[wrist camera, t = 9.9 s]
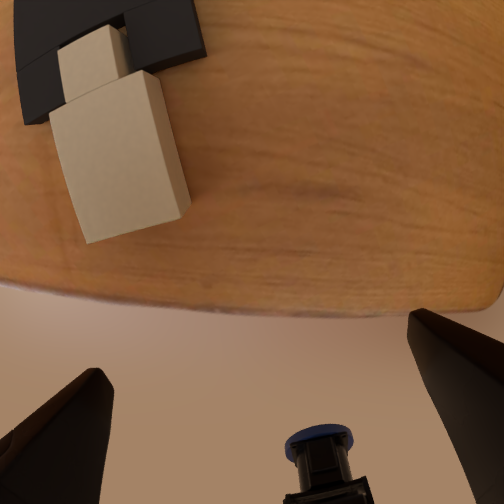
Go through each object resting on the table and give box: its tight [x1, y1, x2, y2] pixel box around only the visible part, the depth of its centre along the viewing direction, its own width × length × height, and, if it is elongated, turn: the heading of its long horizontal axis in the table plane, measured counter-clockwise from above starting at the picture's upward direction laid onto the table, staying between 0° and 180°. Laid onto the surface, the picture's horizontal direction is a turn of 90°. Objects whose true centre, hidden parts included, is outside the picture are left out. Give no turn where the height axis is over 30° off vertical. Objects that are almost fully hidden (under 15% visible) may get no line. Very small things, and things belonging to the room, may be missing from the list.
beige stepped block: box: [49, 25, 192, 244], centre depth 15 cm, size 12×6×3 cm, turn 13°
